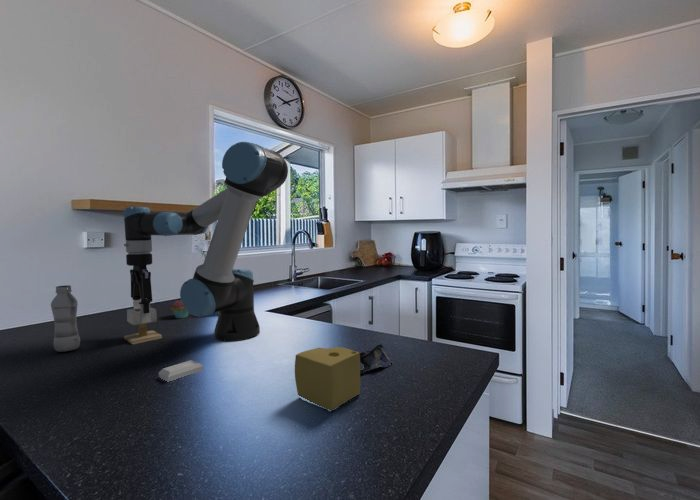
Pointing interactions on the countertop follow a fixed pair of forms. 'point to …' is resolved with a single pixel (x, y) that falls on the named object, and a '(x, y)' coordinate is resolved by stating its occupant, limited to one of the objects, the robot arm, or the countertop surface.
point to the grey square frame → (139, 316)
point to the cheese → (328, 375)
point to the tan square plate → (142, 335)
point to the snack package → (373, 358)
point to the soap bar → (180, 370)
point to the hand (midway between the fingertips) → (142, 320)
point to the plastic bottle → (65, 320)
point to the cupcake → (179, 309)
